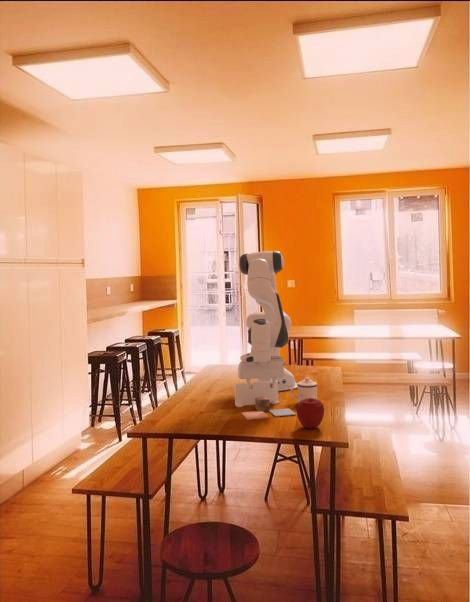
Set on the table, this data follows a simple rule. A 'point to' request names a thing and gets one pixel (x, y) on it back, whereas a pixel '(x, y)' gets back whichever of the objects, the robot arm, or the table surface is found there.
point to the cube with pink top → (262, 403)
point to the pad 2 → (282, 412)
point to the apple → (310, 412)
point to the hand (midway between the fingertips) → (261, 388)
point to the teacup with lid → (306, 390)
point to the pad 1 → (254, 415)
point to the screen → (255, 393)
